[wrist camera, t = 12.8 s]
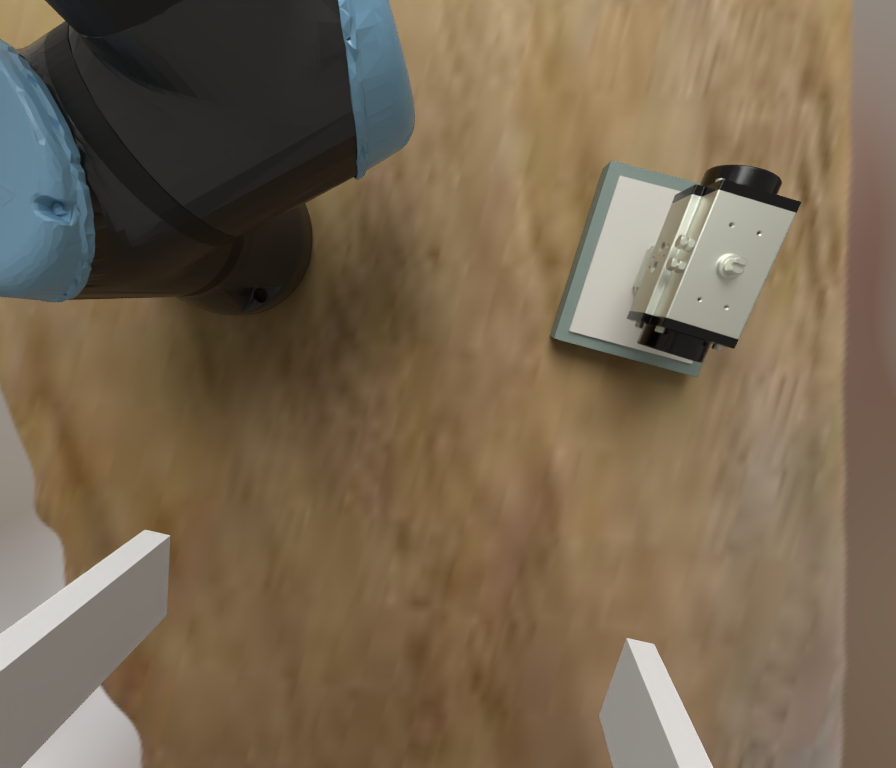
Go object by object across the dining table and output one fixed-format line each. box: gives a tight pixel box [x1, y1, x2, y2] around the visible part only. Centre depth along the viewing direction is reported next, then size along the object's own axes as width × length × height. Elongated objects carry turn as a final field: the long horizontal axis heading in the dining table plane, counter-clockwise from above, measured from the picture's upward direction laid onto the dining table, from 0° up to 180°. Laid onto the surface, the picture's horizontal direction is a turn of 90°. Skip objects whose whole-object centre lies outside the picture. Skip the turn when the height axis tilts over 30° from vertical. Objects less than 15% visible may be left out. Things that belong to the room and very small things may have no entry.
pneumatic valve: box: [627, 165, 801, 363], centre depth 30 cm, size 6×12×12 cm, turn 163°
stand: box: [550, 161, 705, 377], centre depth 38 cm, size 13×15×3 cm
